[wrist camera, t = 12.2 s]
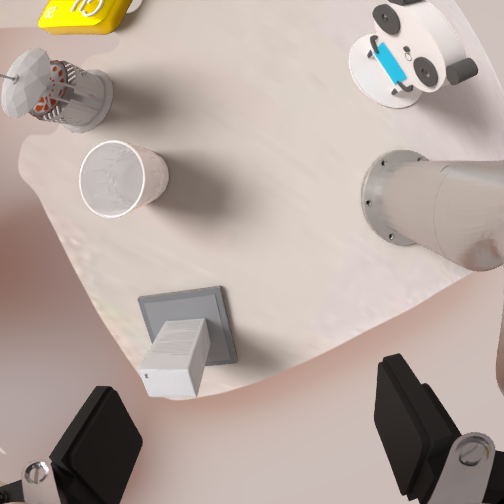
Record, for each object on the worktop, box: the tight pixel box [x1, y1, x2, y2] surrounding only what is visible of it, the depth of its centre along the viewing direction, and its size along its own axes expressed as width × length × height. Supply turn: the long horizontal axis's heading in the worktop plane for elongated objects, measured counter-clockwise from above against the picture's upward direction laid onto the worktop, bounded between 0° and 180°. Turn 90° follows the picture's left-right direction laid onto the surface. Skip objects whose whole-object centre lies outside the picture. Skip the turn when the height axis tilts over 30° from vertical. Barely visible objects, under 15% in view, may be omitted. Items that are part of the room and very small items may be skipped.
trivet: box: [138, 286, 237, 366], centre depth 42 cm, size 12×12×1 cm
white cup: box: [79, 140, 169, 218], centre depth 32 cm, size 8×8×10 cm
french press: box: [0, 48, 113, 133], centre depth 22 cm, size 10×12×25 cm
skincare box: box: [138, 318, 211, 397], centre depth 36 cm, size 6×4×12 cm
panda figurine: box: [349, 0, 478, 108], centre depth 25 cm, size 12×11×15 cm
